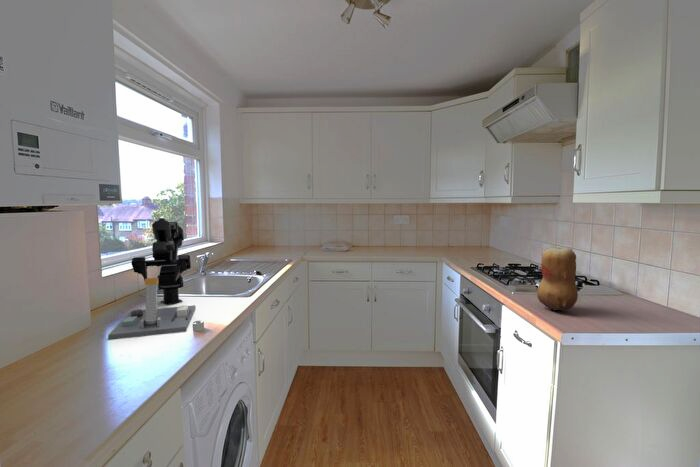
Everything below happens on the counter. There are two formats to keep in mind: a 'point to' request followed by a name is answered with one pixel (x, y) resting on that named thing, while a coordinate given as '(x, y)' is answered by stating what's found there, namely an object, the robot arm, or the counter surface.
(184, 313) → the slider
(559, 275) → the butternut squash
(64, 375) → the counter surface
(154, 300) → the lever
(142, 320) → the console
